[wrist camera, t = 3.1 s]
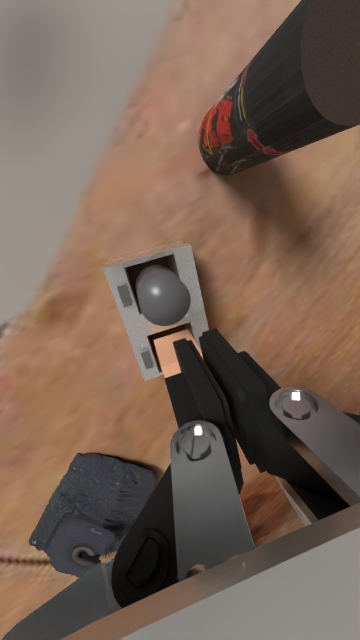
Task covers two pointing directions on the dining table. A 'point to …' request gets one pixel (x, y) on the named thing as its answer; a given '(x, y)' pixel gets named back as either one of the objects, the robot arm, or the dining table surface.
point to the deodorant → (289, 89)
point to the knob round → (162, 295)
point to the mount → (130, 308)
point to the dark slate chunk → (91, 511)
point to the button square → (171, 352)
